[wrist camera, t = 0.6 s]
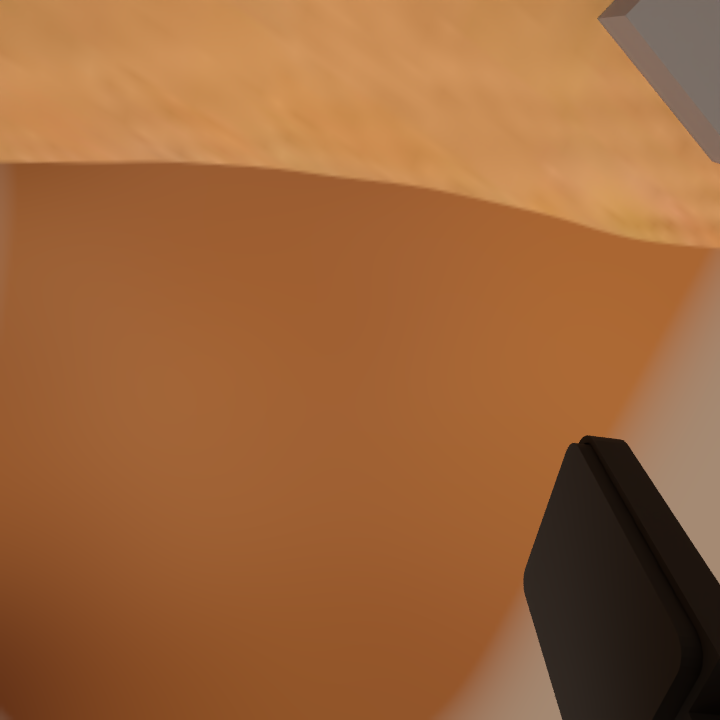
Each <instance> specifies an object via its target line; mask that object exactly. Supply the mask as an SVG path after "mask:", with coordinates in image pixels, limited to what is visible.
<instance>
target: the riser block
mask: <svg viewBox="0 0 720 720" xmlns="http://www.w3.org/2000/svg"><path fill="white" fill-rule="evenodd" d="M597 19H598V20H599V21H600V23H601V24H602V25H603V26H604V28H605V29H606V30H607V31H608V33H609V34H610V35H611V36H612V38H613V39H614V40H615V41H616V42H617V44H618V45H619V46H620V47H621V49H622V50H623V51H624V52H625V54H626V55H627V56H628V57H629V59H630V60H631V61H632V62H633V64H634V65H635V66H636V67H637V69H638V70H639V71H640V72H641V74H642V75H643V76H644V77H645V79H646V80H647V81H648V82H649V83H650V85H651V86H652V87H653V88H654V90H655V91H656V92H657V93H658V95H659V96H660V97H661V98H662V100H663V101H664V102H665V103H666V105H667V106H668V107H669V108H670V110H671V111H672V112H673V113H674V115H675V116H676V117H677V118H678V120H679V121H680V122H681V123H682V124H683V126H684V127H685V128H686V129H687V131H688V132H689V133H690V134H691V136H692V137H693V138H694V139H695V141H696V142H697V143H698V144H699V146H700V147H701V148H702V149H703V151H704V152H705V153H706V154H707V156H708V157H709V158H710V159H711V161H713V162H716V163H719V164H720V0H614V1H613V3H612V4H611V5H610V6H609V7H608V8H607V9H606V10H605V11H604V12H603V13H602V14H601V15H600V16H599V17H598V18H597Z"/></svg>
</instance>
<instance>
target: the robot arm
mask: <svg viewBox="0 0 720 720" xmlns="http://www.w3.org/2000/svg"><path fill="white" fill-rule="evenodd" d="M524 592H525V596H526V600H527V603H528V606H529V610H530V613H531V616H532V619H533V623H534V626H535V629H536V633H537V636H538V639H539V643H540V646H541V650H542V653H543V656H544V659H545V663H546V666H547V670H548V673H549V677H550V680H551V683H552V687H553V690H554V693H555V697H556V700H557V703H558V706H559V710H560V713H561V716H562V720H720V584H719V583H718V581H717V580H716V578H715V577H714V575H713V574H712V572H711V571H710V569H709V568H708V566H707V565H706V563H705V561H704V560H703V558H702V557H701V555H700V554H699V552H698V551H697V549H696V548H695V547H694V545H693V543H692V542H691V540H690V539H689V537H688V536H687V534H686V533H685V531H684V530H683V528H682V527H681V525H680V523H679V522H678V520H677V519H676V518H675V516H674V515H673V513H672V512H671V510H670V508H669V507H668V505H667V504H666V502H665V501H664V499H663V498H662V496H661V495H660V493H659V492H658V490H657V489H656V487H655V486H654V484H653V482H652V481H651V479H650V478H649V476H648V475H647V473H646V472H645V470H644V469H643V467H642V466H641V464H640V463H639V461H638V460H637V458H636V457H635V455H634V454H633V452H632V451H631V449H630V447H629V446H628V444H627V443H626V442H624V440H620V439H612V438H604V437H596V436H588V435H587V436H584V437H583V438H582V439H581V440H580V442H579V444H578V443H572V444H570V446H569V447H568V449H567V451H566V454H565V457H564V459H563V462H562V465H561V468H560V471H559V474H558V476H557V479H556V482H555V485H554V488H553V491H552V494H551V497H550V499H549V502H548V505H547V508H546V511H545V514H544V517H543V519H542V522H541V525H540V528H539V531H538V534H537V537H536V539H535V542H534V545H533V548H532V551H531V554H530V557H529V559H528V562H527V565H526V568H525V572H524Z"/></svg>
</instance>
